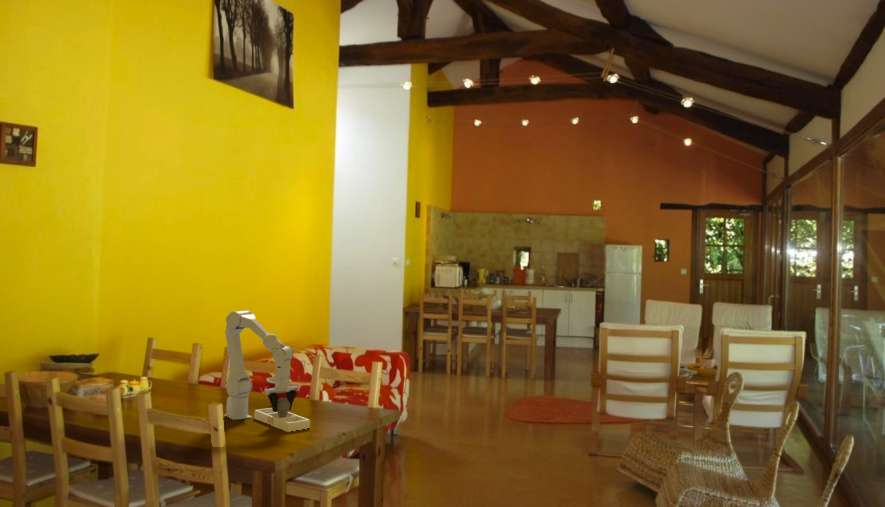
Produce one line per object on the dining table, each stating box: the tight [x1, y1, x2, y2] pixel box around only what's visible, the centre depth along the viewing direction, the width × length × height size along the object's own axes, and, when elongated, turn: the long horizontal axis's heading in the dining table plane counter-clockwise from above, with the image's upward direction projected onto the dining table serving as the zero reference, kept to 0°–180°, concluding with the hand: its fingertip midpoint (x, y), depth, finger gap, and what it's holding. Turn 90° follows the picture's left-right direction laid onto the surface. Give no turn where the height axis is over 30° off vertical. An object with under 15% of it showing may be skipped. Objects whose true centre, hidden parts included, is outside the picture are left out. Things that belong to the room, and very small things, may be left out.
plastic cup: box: [266, 376, 292, 400], centre depth 327 cm, size 11×11×12 cm
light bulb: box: [277, 398, 290, 418], centre depth 295 cm, size 6×6×10 cm
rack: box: [253, 407, 311, 433], centre depth 295 cm, size 27×10×4 cm, turn 42°
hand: (281, 410), depth 295 cm, fingers closed on light bulb, 6 cm apart
